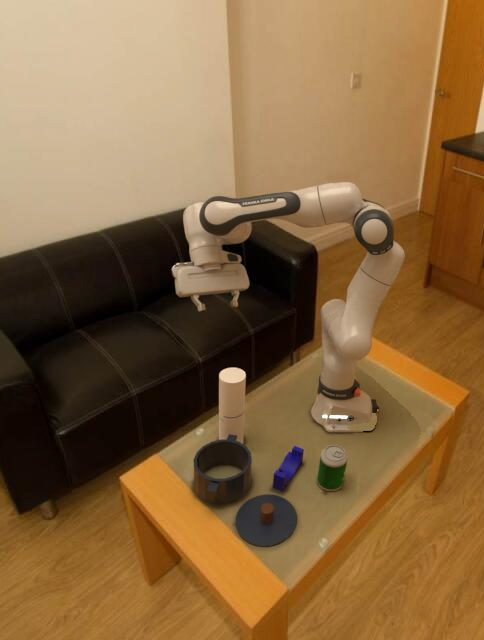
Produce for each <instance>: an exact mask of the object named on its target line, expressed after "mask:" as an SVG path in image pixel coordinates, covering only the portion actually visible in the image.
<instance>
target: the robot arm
mask: <svg viewBox="0 0 484 640" xmlns="http://www.w3.org/2000/svg"><path fill="white" fill-rule="evenodd" d="M268 220H282V221H286V222H289V223H291V224H294V225H296V226H299V227H300V228H304V229H305V228H307V229H309V228H320V227H326V226H329V225H334V224H338V223H342V224H343V223H344V224H348V225H350V226H351V227H352V229H353V231H354V236H355V238H356V240H357V242H358V243H359V244H360V245H361V246H362V247H363V248H364V249H365V250H366V254H365V257H364V258H363V260H362V262H361V264H360V265H359V267H358V269H357V271H356V273H355V274H354V276H353V277H352V279H351V281H350V283H349V285H348V286H347V289H346V299H345V301H344V299H341V298H332V299H329V300H328V301H326V302H325V303H324V304H323V305H322V307H321V309H320V323H321V349H322V359H321V361H322V362H321V370H320V375H319V377H318V380H317V387H316V391H317V394H316V398H315V401H314V403H313V405H312V407H311V410H310V414H311V417H312V419H313V420H314V421H315V422H316V423H318V424H319V425H321V426H322V427H323V429H325V431H326V432H328V433H364V432H363V431H362V430H350V429H348V428H347V427H348V425H353V424H362V423H369V422H370V420H371V417H372V413H376V412H377V409H379V410H380V406H379V405H378V403H377V399H374V398H371V397H370V396H369V394H368V393H366V392H365V391H363V390H362V389H361V388H360V387H361V384H360V378H357V379H356V374H357V367H358V362H359V361H362V360H363V359H365V358H366V357H367V356H368V355H369V354H370V353H371V351H372V346H373V342H372V341H373V340H372V339H373V332H374V331H373V330H374V327H375V323H376V319H377V316H378V313H379V310H380V309H381V308H380V307H381V306H382V304H383V303H384V300H385V299H386V297H387V295H388V293H389V292H390V290H391V289H392V287H393V285H394V284H395V282H396V280H397V278H398V276H399V274H400V272H401V269H402V267H403V265H404V262H405V259H406V252H405V250H404V249H403V247H402V246H401V245H400V244H399V243H398V242H397V241H395V240H394V235H395V233H394V232H395V229H394V227H395V226H394V223H393V218H392V215H391V214H390V212H389V211H388V210H387V209H386V208H385V207H384V206H383V205H382V204H380V203H378V202H375V201H372V200H368V199H365V198H363V195H362V192H361V191H360V189H359V187H358V186H357V185H356V184H355V183H353V182H351V181H350V182H349V181H341V182H339V181H338V182H330V183H323V184H317V185H313V186H309V187H304V188H300V189H295V190H288V191H282V192H273V193H272V192H271V193H267V194H258V195H253V196H246V197H240V198H239V197H238V198H236V197H235V198H233V197H229V196H224V195H215V196H211V197H209V198H208V199H207V200H206V201H199V202H194V203H191V204H190V205H188V206H187V207H186V208H185V209H184V211H183V215H182V222H183V229H184V234H185V239H186V241H187V244H188V246H189V250H188V254H189V257H190V261H186V262H176V263H175V264H174V265H173V266H172V267H171V275H172V277H173V278H174V288H175V294H176V295H177V296H178V297H179V298H189V297H190V300H191V302H193V304H194V305H195V306H196V307H197V312H199V313H200V312H205V311H206V310H207V308H206V304H205V303H202V302H201V301H200V300H199V298H200V296H206V295H207V296H208V295H216V294H226V293H231V296H232V297H233V298H232V300H230V301H229V304H230V308H237V307H238V306H239V302H238V299H239V296H240V292H244V291H246V290H248V289H249V287H250V279H249V276H248V273H247V269H246V267H245V266H244V265H243V264H242V263H241V262H242V256H241V254H240V255H239V254H237V253H233V252H229V251H226V250H223V246H225V245H227V246H228V245H238V244H239V245H240V244H243V243H244V242H245V241H247V240H248V239H249V238H250V236H251V234H252V230H253V224H252V223H254V222H259V221H260V222H261V221H268ZM377 413H378V412H377ZM349 427H350V426H349ZM357 429H358V428H357Z"/></svg>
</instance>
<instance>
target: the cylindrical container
mask: <svg viewBox="0 0 484 640" xmlns="http://www.w3.org/2000/svg"><path fill="white" fill-rule="evenodd" d="M246 381H247V374H246V371H244V370H243V369H241V368H239V367H227V368H224V369H222V370H221V371H220V372H219V373H218V440H221V439H224V440H227V438H228V435H229V434H230V435H237V440H236V441H238V442H240V443H242V444H243V445H244V439H245V438H244V435H245V411H246V410H245V409H246V408H245V407H246V383H247V382H246Z"/></svg>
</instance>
